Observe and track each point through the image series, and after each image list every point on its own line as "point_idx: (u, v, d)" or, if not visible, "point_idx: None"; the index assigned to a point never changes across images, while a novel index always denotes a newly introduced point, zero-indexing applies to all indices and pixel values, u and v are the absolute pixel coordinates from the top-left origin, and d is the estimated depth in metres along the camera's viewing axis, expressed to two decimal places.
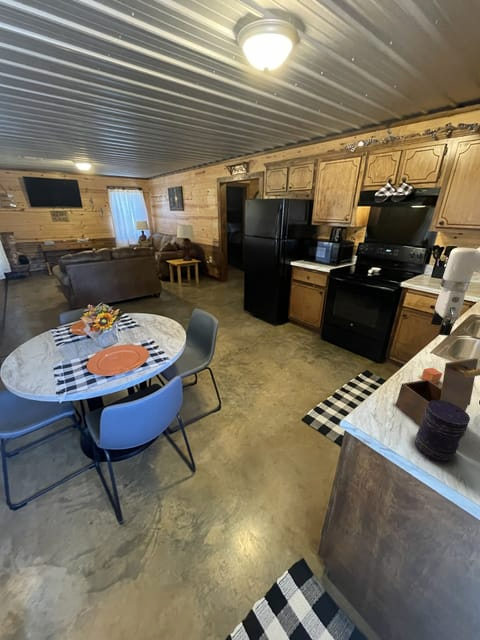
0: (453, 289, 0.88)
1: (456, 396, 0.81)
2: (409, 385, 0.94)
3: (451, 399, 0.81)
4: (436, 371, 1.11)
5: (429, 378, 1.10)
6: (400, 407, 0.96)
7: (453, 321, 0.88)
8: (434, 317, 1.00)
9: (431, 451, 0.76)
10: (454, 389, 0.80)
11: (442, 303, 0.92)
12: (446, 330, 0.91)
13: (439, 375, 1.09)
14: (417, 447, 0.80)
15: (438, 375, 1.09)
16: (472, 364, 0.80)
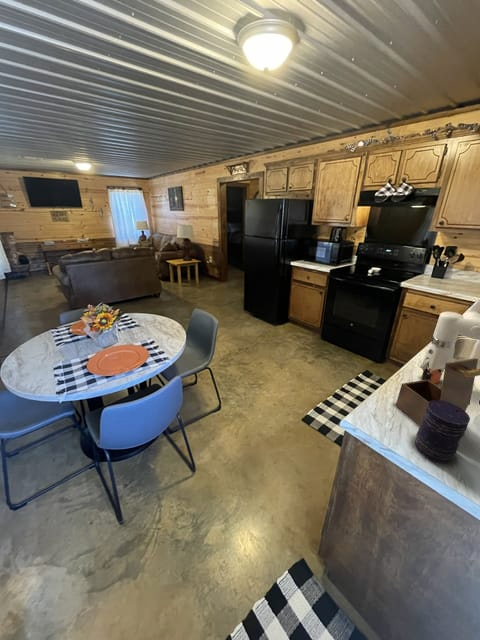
0: (432, 343, 1.06)
1: (456, 396, 0.81)
2: (409, 385, 0.94)
3: (451, 399, 0.81)
4: (436, 371, 1.11)
5: None
6: (400, 407, 0.96)
7: (423, 369, 1.09)
8: None
9: (431, 451, 0.76)
10: (454, 389, 0.80)
11: None
12: (424, 376, 1.11)
13: (439, 375, 1.09)
14: (417, 447, 0.80)
15: (438, 375, 1.09)
16: (472, 364, 0.80)
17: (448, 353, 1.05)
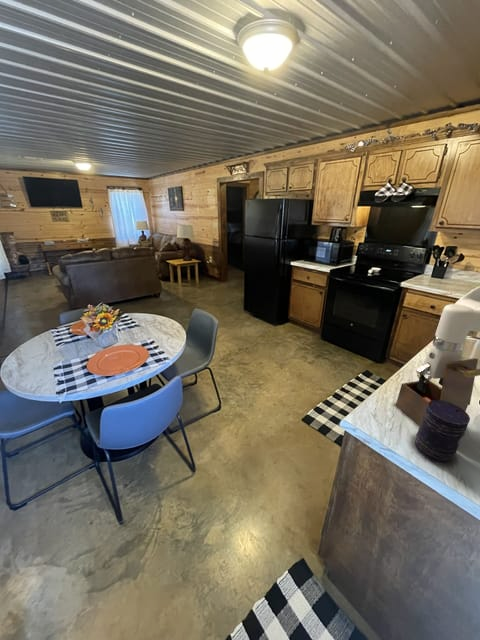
0: None
1: (456, 396, 0.81)
2: (409, 385, 0.94)
3: (451, 399, 0.81)
4: None
5: None
6: (400, 407, 0.96)
7: (419, 375, 0.85)
8: None
9: (431, 451, 0.76)
10: (454, 389, 0.80)
11: None
12: (420, 385, 0.87)
13: None
14: (417, 447, 0.80)
15: None
16: (472, 364, 0.80)
17: (454, 357, 0.82)
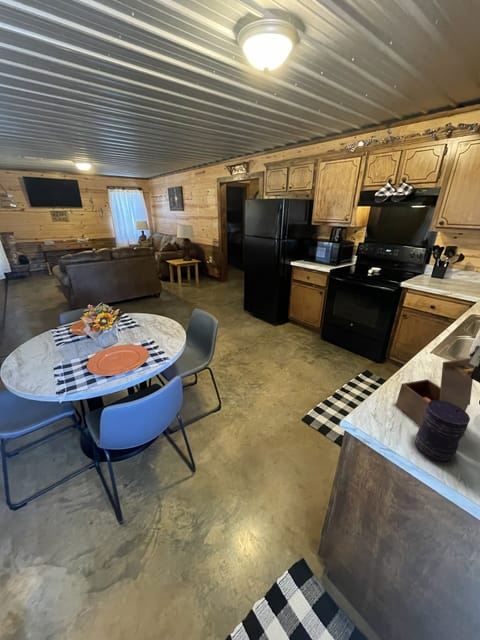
0: None
1: (455, 396, 0.81)
2: (409, 385, 0.94)
3: (450, 398, 0.81)
4: None
5: None
6: (400, 407, 0.96)
7: (476, 365, 0.72)
8: None
9: (431, 451, 0.76)
10: (453, 388, 0.80)
11: None
12: (476, 374, 0.74)
13: None
14: (417, 447, 0.80)
15: None
16: (469, 363, 0.80)
17: None
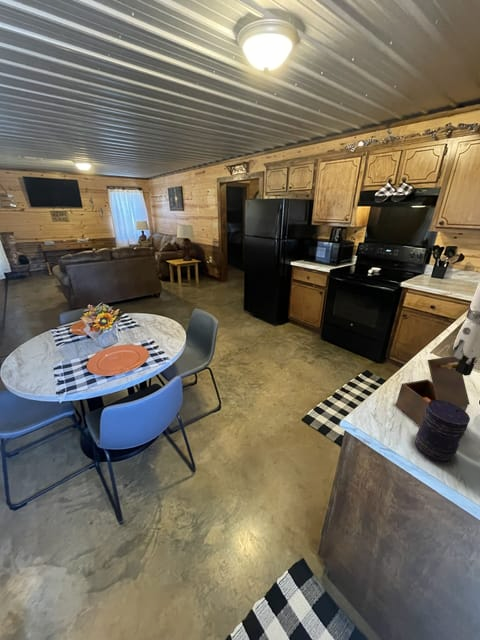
0: (469, 319, 0.72)
1: (451, 394, 0.82)
2: (409, 385, 0.94)
3: (447, 397, 0.82)
4: None
5: None
6: (400, 407, 0.96)
7: (460, 358, 0.76)
8: None
9: (431, 451, 0.76)
10: (446, 386, 0.82)
11: None
12: (461, 367, 0.78)
13: None
14: (417, 447, 0.80)
15: None
16: (454, 360, 0.85)
17: None
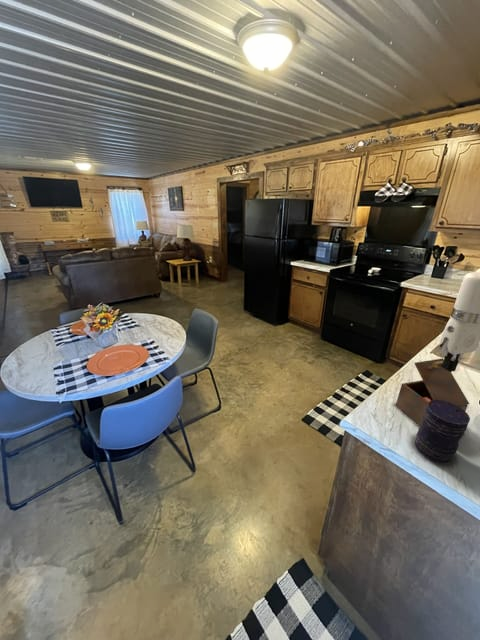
0: (453, 317, 0.77)
1: (447, 394, 0.84)
2: (409, 385, 0.94)
3: (443, 397, 0.83)
4: None
5: None
6: (400, 407, 0.96)
7: None
8: None
9: (431, 451, 0.76)
10: (439, 386, 0.85)
11: None
12: (446, 363, 0.82)
13: None
14: (417, 447, 0.80)
15: None
16: None
17: (475, 331, 0.75)
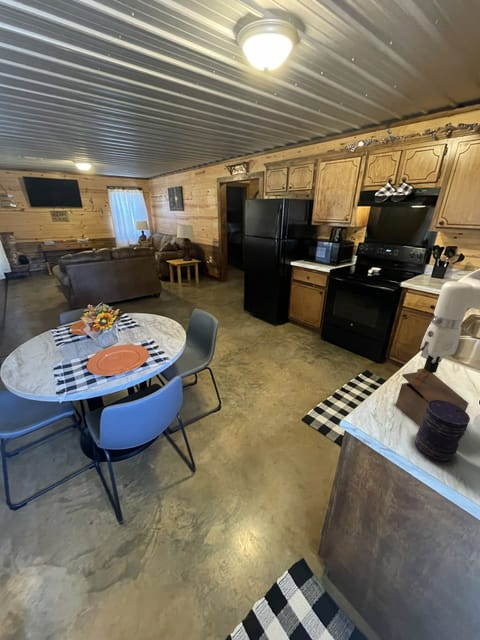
0: (433, 323, 0.83)
1: (442, 396, 0.85)
2: (409, 385, 0.94)
3: (439, 399, 0.84)
4: None
5: None
6: (400, 407, 0.96)
7: (426, 357, 0.86)
8: None
9: (431, 451, 0.76)
10: (432, 391, 0.87)
11: None
12: (427, 365, 0.88)
13: None
14: (417, 447, 0.80)
15: None
16: None
17: (453, 335, 0.81)
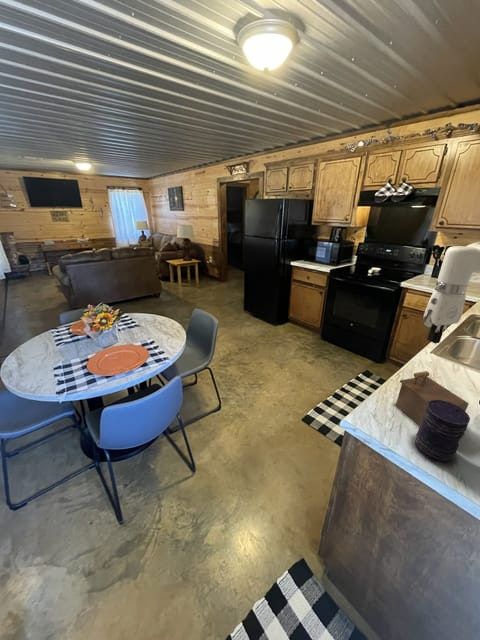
0: (436, 290, 0.81)
1: (441, 398, 0.86)
2: None
3: None
4: None
5: None
6: (400, 407, 0.96)
7: (429, 327, 0.84)
8: None
9: (431, 451, 0.76)
10: (431, 393, 0.88)
11: None
12: (431, 335, 0.86)
13: None
14: (417, 447, 0.80)
15: None
16: None
17: (457, 302, 0.79)
